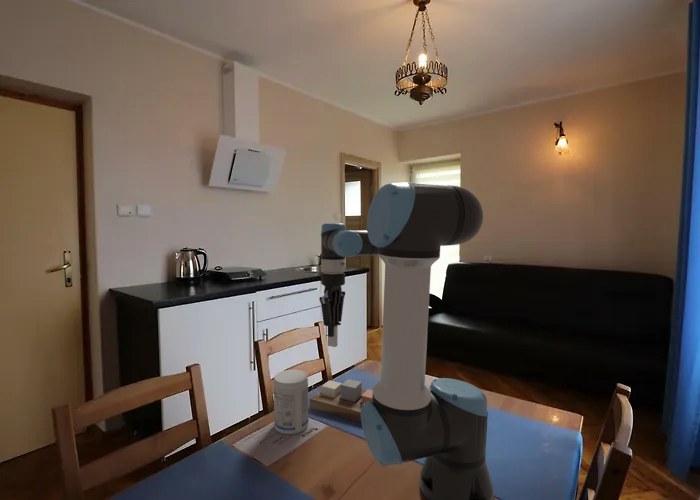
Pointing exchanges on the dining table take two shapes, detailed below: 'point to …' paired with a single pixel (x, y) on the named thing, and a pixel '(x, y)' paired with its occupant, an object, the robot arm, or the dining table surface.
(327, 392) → the beige cube
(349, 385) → the gray cube
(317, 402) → the wooden board
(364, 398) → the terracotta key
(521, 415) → the dining table surface
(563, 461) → the dining table surface
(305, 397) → the supplement tub
